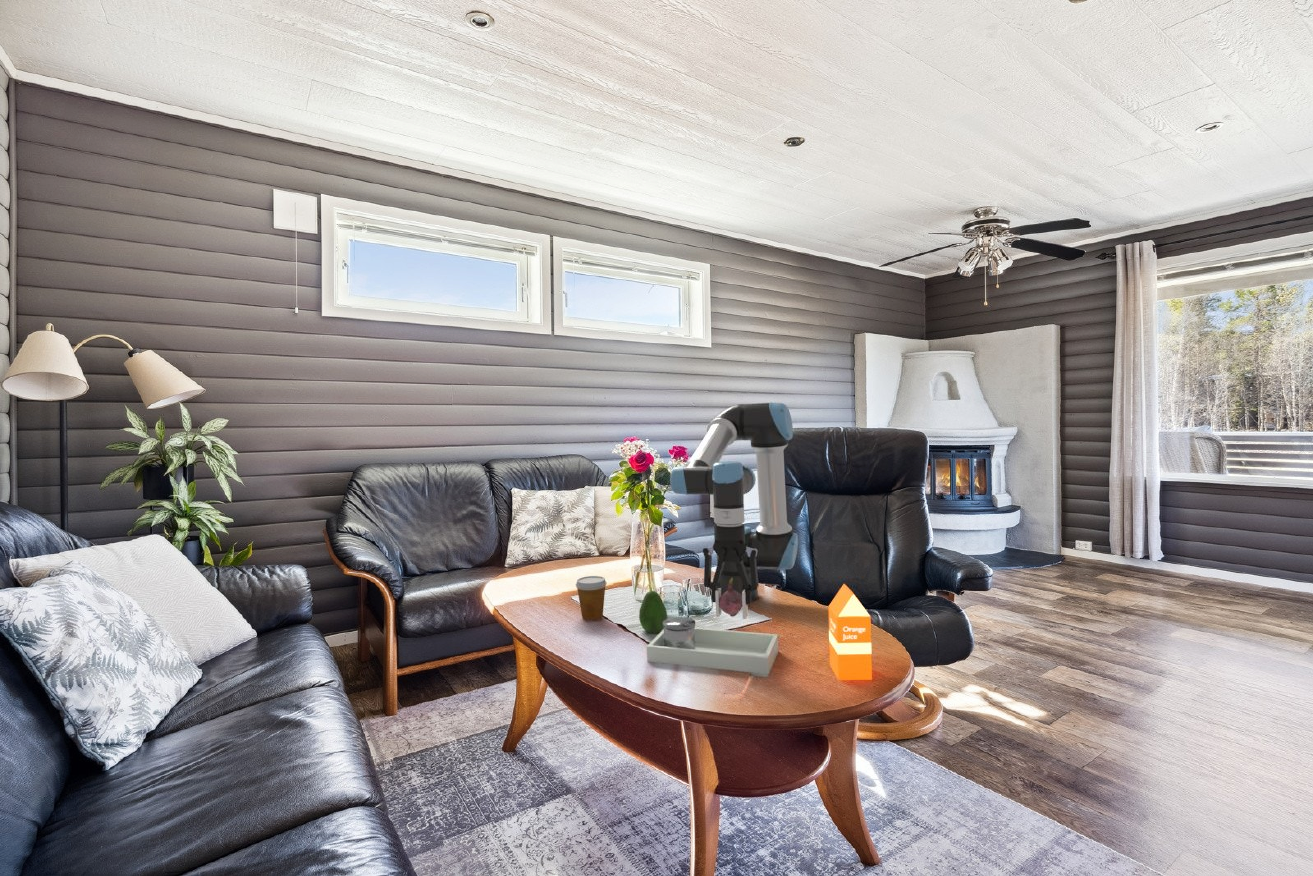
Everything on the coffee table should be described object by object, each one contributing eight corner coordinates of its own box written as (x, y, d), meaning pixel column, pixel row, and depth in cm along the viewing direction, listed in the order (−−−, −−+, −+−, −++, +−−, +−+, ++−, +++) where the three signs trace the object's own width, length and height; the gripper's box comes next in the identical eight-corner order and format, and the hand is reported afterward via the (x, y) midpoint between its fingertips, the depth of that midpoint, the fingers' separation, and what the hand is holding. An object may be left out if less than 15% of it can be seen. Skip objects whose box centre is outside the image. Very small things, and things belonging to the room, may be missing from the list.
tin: (669, 644, 166) (668, 616, 165) (700, 647, 163) (699, 618, 163) (659, 656, 158) (658, 626, 158) (690, 659, 155) (689, 629, 155)
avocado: (654, 626, 182) (652, 586, 182) (673, 632, 177) (671, 590, 176) (633, 634, 177) (632, 592, 176) (653, 640, 171) (651, 597, 171)
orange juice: (838, 680, 142) (836, 593, 141) (829, 664, 151) (827, 583, 150) (872, 679, 142) (871, 593, 141) (862, 664, 150) (860, 582, 150)
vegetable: (722, 622, 152) (720, 581, 151) (717, 614, 158) (716, 575, 158) (746, 620, 152) (745, 580, 152) (741, 612, 158) (739, 573, 158)
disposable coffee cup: (614, 616, 193) (612, 578, 192) (592, 625, 185) (590, 585, 185) (592, 611, 199) (591, 574, 198) (570, 619, 191) (568, 580, 191)
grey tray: (667, 641, 170) (667, 625, 170) (778, 652, 160) (778, 634, 160) (647, 664, 155) (646, 646, 155) (768, 677, 145) (767, 658, 145)
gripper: (688, 525, 154) (691, 618, 155) (764, 527, 148) (767, 624, 148) (696, 520, 161) (699, 608, 162) (770, 522, 155) (772, 614, 155)
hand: (731, 616), depth 155 cm, fingers closed on vegetable, 6 cm apart
